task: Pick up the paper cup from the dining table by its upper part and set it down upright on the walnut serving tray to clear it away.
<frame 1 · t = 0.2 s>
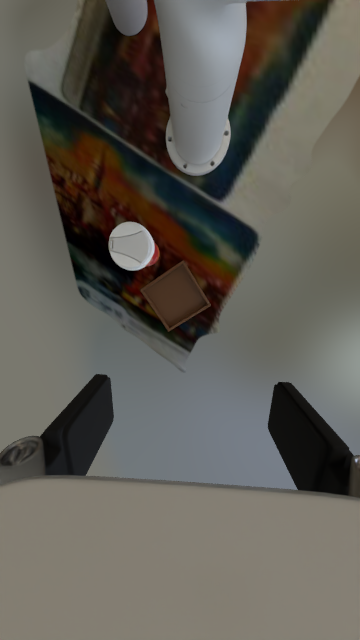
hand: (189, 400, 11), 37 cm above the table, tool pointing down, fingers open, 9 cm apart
paper cup: (148, 253, 44), on the table
coffee cup: (129, 12, 34), on the table
tray: (176, 296, 46), on the table
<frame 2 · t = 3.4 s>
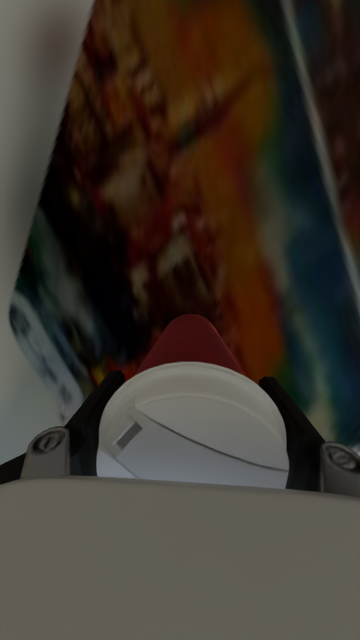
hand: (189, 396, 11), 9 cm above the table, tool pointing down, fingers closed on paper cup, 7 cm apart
paper cup: (190, 338, 20), on the table, touching gripper
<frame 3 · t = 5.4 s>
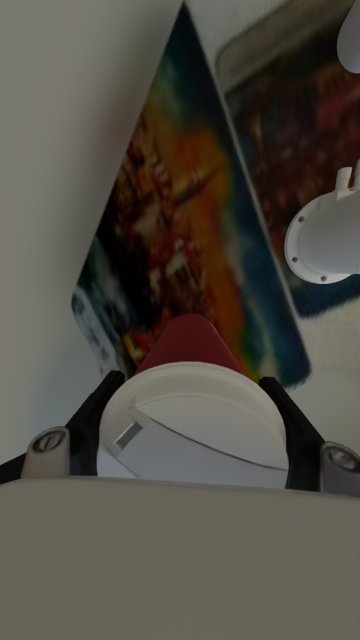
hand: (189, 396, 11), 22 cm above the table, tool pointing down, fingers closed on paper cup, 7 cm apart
paper cup: (190, 338, 20), point 12 cm above the table, touching gripper
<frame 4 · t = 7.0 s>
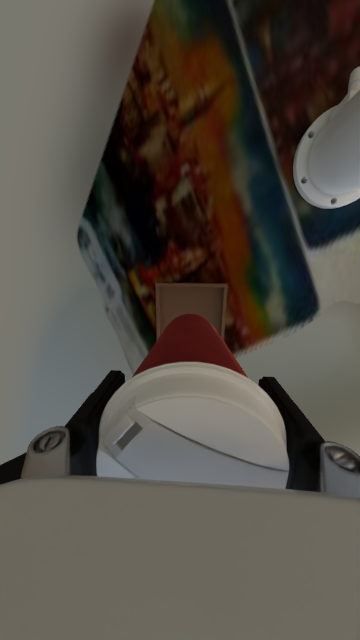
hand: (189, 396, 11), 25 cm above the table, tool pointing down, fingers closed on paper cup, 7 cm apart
paper cup: (190, 338, 20), point 15 cm above the table, touching gripper
tray: (190, 315, 35), on the table
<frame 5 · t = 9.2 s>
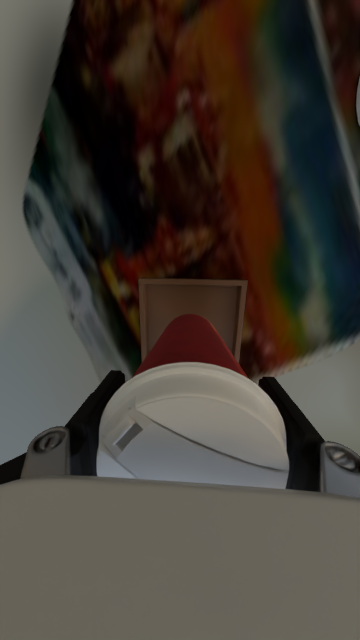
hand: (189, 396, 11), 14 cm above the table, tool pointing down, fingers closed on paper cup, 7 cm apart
paper cup: (190, 338, 20), point 4 cm above the table, touching gripper
tray: (190, 326, 24), on the table
when the fingers open (10 cm above the table, at t = 10.9 s): paper cup stays where it is, resting on tray.
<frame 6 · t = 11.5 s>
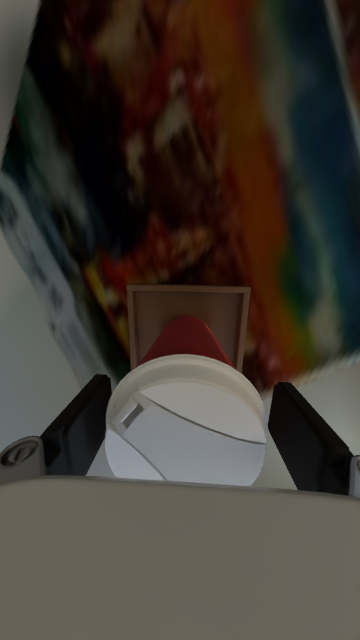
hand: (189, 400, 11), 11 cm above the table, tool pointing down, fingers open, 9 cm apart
paper cup: (187, 338, 21), resting on tray
tray: (186, 337, 22), on the table
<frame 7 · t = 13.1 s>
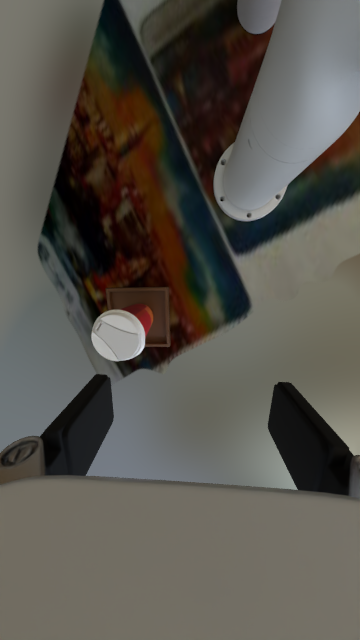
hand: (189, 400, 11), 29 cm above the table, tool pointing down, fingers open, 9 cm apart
paper cup: (140, 316, 40), resting on tray
coffee cup: (258, 7, 28), on the table
tray: (141, 316, 40), on the table
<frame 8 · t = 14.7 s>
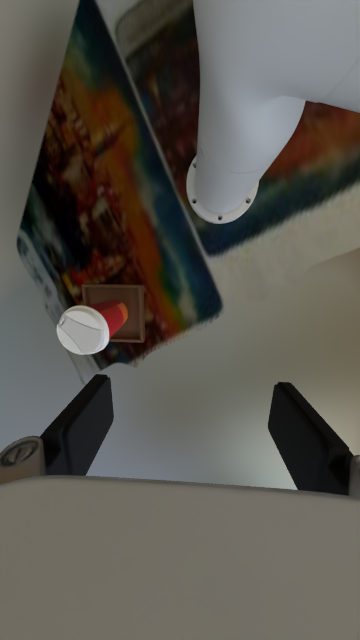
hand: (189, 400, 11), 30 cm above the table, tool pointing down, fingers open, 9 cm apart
paper cup: (116, 312, 41), resting on tray
tray: (116, 312, 41), on the table
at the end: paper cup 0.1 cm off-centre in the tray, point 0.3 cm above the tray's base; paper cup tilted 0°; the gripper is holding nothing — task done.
